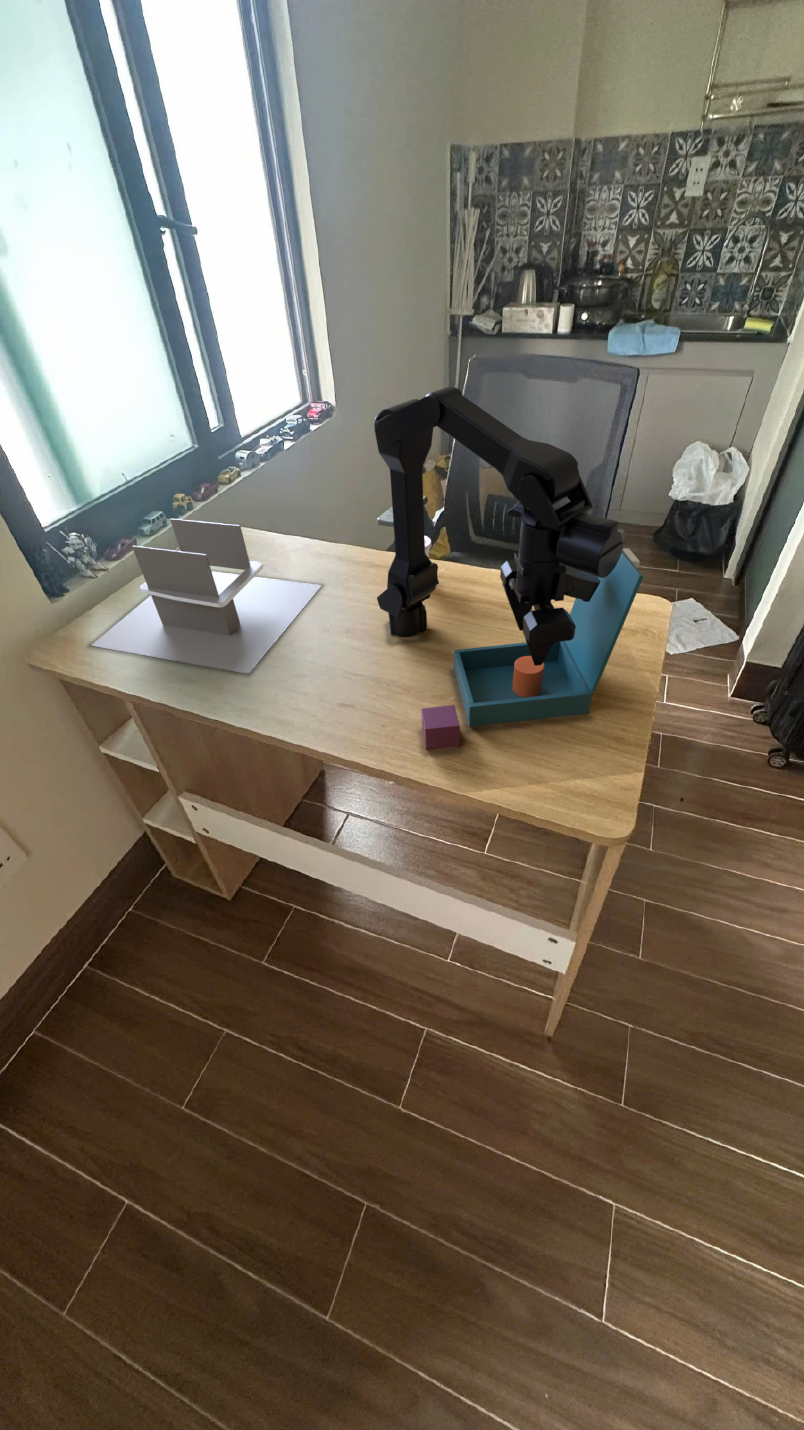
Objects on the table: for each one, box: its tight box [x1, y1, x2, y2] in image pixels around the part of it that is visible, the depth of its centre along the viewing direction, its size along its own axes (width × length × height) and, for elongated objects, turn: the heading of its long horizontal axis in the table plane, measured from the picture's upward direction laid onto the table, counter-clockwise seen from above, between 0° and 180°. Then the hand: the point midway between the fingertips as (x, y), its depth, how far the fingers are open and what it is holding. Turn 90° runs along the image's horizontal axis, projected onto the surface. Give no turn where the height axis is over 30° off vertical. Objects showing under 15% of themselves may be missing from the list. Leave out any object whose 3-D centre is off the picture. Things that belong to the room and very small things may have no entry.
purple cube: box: [420, 704, 461, 751], centre depth 89 cm, size 5×5×5 cm
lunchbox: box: [453, 641, 593, 728], centre depth 96 cm, size 19×15×5 cm
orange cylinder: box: [512, 656, 544, 698], centre depth 95 cm, size 5×5×5 cm
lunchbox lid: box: [565, 547, 644, 693], centre depth 88 cm, size 19×15×3 cm
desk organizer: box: [90, 518, 322, 675], centre depth 115 cm, size 31×35×17 cm
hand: (529, 646), depth 91 cm, fingers open, 9 cm apart
